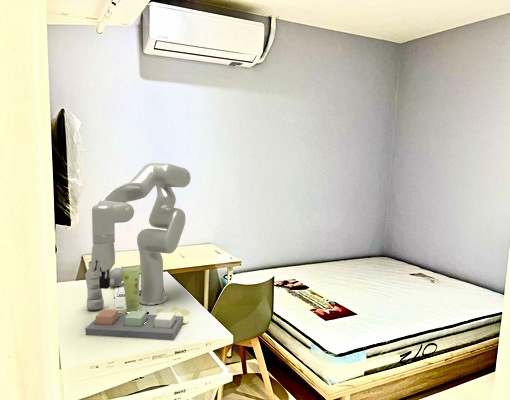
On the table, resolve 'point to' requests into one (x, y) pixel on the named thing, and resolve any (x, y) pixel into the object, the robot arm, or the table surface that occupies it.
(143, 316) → the sage button
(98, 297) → the plastic bottle
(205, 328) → the table surface
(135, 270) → the tube
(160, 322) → the offwhite button
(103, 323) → the terracotta button
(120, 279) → the chubby cartoon animal
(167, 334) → the panel
